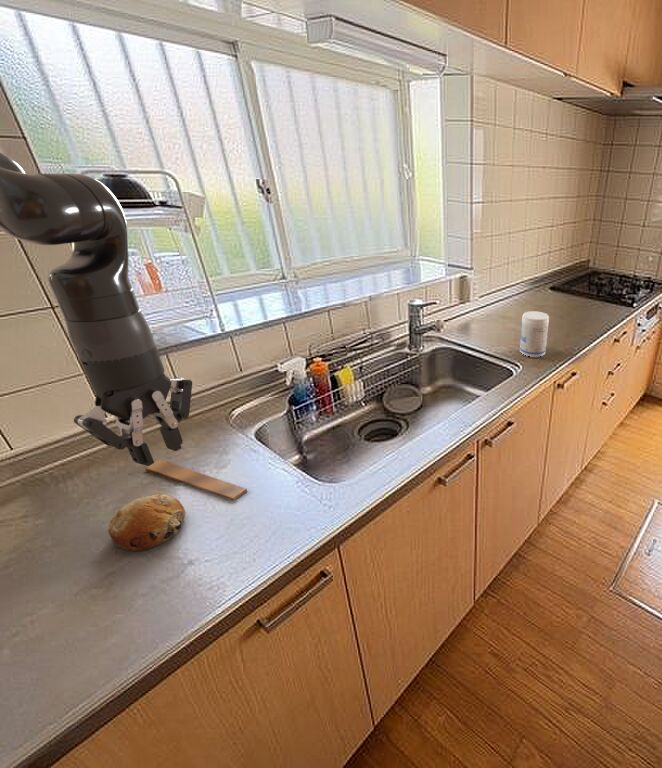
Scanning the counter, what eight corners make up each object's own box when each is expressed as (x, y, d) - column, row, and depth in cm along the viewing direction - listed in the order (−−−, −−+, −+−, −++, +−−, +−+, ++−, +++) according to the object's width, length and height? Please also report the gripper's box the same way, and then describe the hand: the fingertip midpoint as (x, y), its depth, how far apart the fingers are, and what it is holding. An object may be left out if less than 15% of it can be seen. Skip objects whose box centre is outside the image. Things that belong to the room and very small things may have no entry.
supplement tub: (515, 350, 156) (517, 312, 149) (537, 347, 160) (540, 309, 153) (527, 360, 148) (530, 320, 141) (550, 356, 152) (554, 317, 145)
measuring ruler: (145, 469, 87) (144, 467, 86) (160, 461, 89) (159, 459, 89) (233, 500, 80) (232, 498, 80) (247, 491, 83) (246, 488, 82)
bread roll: (184, 520, 80) (165, 483, 78) (199, 526, 73) (178, 485, 72) (118, 553, 72) (95, 513, 71) (128, 563, 66) (103, 519, 64)
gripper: (154, 326, 61) (189, 426, 68) (26, 362, 49) (86, 478, 56) (192, 334, 59) (224, 437, 66) (68, 373, 47) (125, 493, 54)
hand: (160, 455), depth 61 cm, fingers open, 3 cm apart
